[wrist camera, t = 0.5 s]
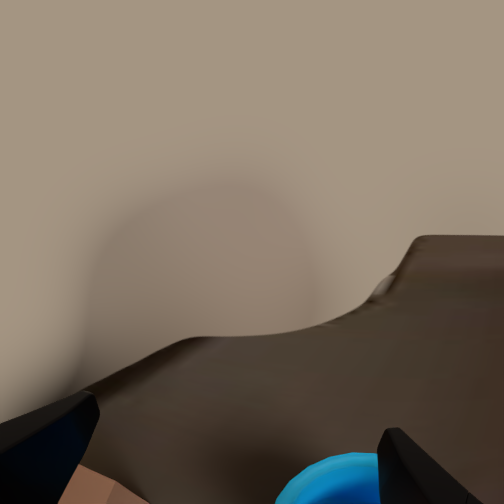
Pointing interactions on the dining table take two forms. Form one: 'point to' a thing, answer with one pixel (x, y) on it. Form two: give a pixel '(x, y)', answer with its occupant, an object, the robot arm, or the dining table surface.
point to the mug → (335, 482)
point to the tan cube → (96, 490)
